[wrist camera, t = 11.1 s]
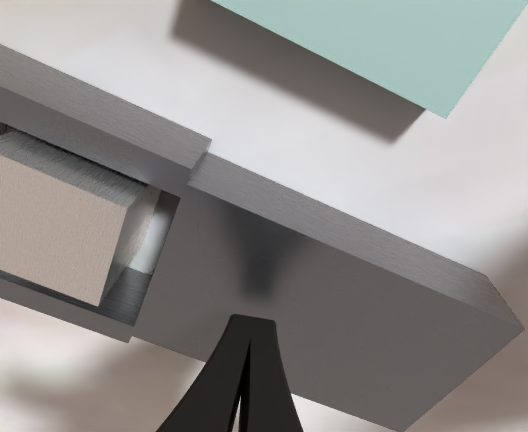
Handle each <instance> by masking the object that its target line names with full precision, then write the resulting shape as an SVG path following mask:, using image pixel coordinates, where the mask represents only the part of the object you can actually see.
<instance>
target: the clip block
mask: <svg viewBox="0 0 528 432" xmlns="http://www.w3.org/2000/svg"><path fill="white" fill-rule="evenodd" d="M160 193H161V189H159V188H156V187H154V186H152V185H149V184H147V183H144V182H142V181H140V180H137V179H135V178H133V177H130V176H128V175H126V174H123V173H121V172H118V171H116V170H114V169H111V168H109V167H107V166H104V165H102V164H99V163H97V162H95V161H92V160H90V159H88V158H85V157H83V156H80V155H78V154H76V153H73V152H71V151H69V150H66V149H64V148H61V147H59V146H57V145H54V144H52V143H50V142H47V141H45V140H42V139H40V138H38V137H35V136H33V135H31V134H28V133H26V132H24V131H21V130H19V129H16V130H13V131H11V132H8V133H6V134H3V135H1V136H0V270H2V271H5V272H8V273H10V274H13V275H16V276H18V277H21V278H24V279H26V280H29V281H31V282H34V283H37V284H39V285H42V286H45V287H47V288H50V289H53V290H55V291H58V292H61V293H63V294H66V295H68V296H71V297H74V298H76V299H79V300H82V301H84V302H87V303H90V304H92V305H95V306H99V305H100V303H101V302H102V300H103V299H104V297H105V296H106V295H107V293H108V292H109V290H110V289H111V287H112V286H113V284H114V283H115V282H116V280H117V279H118V277H119V276H120V274H121V273H122V272H123V270H124V269H125V267H126V266H127V264H128V263H129V261H130V260H131V259H132V257H133V256H134V254H135V253H136V251H137V250H138V249H139V247H140V246H141V244H142V243H143V241H144V239H145V236H146V233H147V230H148V228H149V225H150V222H151V219H152V216H153V213H154V210H155V207H156V204H157V201H158V198H159V196H160Z"/></svg>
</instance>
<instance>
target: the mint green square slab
mask: <svg viewBox="0 0 528 432" xmlns="http://www.w3.org/2000/svg"><path fill="white" fill-rule="evenodd" d="M211 1H213V2H215V3H217V4H219V5H221V6H223V7H225V8H227V9H229V10H231V11H233V12H235V13H237V14H239V15H241V16H243V17H245V18H247V19H249V20H251V21H253V22H255V23H257V24H259V25H261V26H263V27H265V28H267V29H269V30H271V31H272V32H274V33H276V34H278V35H280V36H282V37H284V38H286V39H288V40H290V41H292V42H294V43H296V44H298V45H300V46H302V47H304V48H306V49H308V50H310V51H312V52H314V53H316V54H318V55H320V56H322V57H324V58H326V59H328V60H330V61H332V62H334V63H336V64H338V65H340V66H342V67H344V68H346V69H348V70H350V71H352V72H354V73H356V74H358V75H360V76H362V77H364V78H366V79H368V80H370V81H372V82H374V83H375V84H377V85H379V86H381V87H383V88H385V89H387V90H389V91H391V92H393V93H395V94H397V95H399V96H401V97H403V98H405V99H407V100H409V101H411V102H413V103H415V104H417V105H419V106H421V107H423V108H425V109H427V110H429V111H431V112H433V113H435V114H437V115H439V116H441V117H443V118H445V119H446V118H447V117H448V115H449V114H450V113H451V111H452V110H453V108H454V107H455V106H456V104H457V103H458V101H459V100H460V99H461V97H462V96H463V94H464V93H465V91H466V90H467V89H468V87H469V86H470V84H471V83H472V82H473V80H474V79H475V77H476V76H477V74H478V73H479V72H480V70H481V69H482V67H483V66H484V65H485V63H486V62H487V60H488V59H489V58H490V56H491V55H492V53H493V52H494V50H495V49H496V48H497V46H498V45H499V43H500V42H501V41H502V39H503V38H504V36H505V35H506V34H507V32H508V31H509V29H510V28H511V26H512V25H513V24H514V22H515V21H516V19H517V18H518V17H519V15H520V14H521V12H522V11H523V10H524V8H525V7H526V5H527V4H528V0H211Z"/></svg>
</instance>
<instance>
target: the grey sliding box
mask: <svg viewBox="0 0 528 432" xmlns="http://www.w3.org/2000/svg"><path fill="white" fill-rule="evenodd" d="M6 124H7V125H9V126H12V127H14V128H16V129H19V130H21V131H24V132H26V133H28V134H31V135H33V136H35V137H38V138H40V139H42V140H45V141H47V142H50V143H52V144H54V145H57V146H59V147H61V148H64V149H66V150H69V151H71V152H73V153H76V154H78V155H80V156H83V157H85V158H88V159H90V160H92V161H95V162H97V163H99V164H102V165H104V166H107V167H109V168H111V169H114V170H116V171H118V172H121V173H123V174H126V175H128V176H130V177H133V178H135V179H137V180H140V181H142V182H144V183H147V184H149V185H152V186H154V187H156V188H159V189H161V190H163V191H166V192H168V193H171V194H173V195H175V196H178V197H180V198H181V199H180V202H179V204H178V207H177V210H176V213H175V215H174V218H173V221H172V224H171V226H170V229H169V232H168V235H167V237H166V240H165V243H164V246H163V248H162V251H161V254H160V257H159V260H158V262H157V265H156V268H155V271H154V273H153V276H149V275H147V274H144V273H142V272H139V271H136V270H134V269H131V268H129V267H125V269H124V270H123V272H122V273H121V274H120V276H119V277H118V279H117V280H116V282H115V283H114V284H113V286H112V287H111V289H110V290H109V292H108V293H107V295H106V296H105V297H104V299H103V300H102V302H101V303H100V305H99V306H95V305H92V304H90V303H87V302H84V301H82V300H79V299H76V298H74V297H71V296H68V295H66V294H63V293H61V292H58V291H55V290H53V289H50V288H47V287H45V286H42V285H39V284H37V283H34V282H31V281H29V280H26V279H24V278H21V277H18V276H16V275H13V274H10V273H8V272H5V271H2V270H0V298H2V299H5V300H8V301H11V302H13V303H16V304H19V305H22V306H25V307H27V308H30V309H33V310H36V311H39V312H41V313H44V314H47V315H50V316H53V317H55V318H58V319H61V320H64V321H67V322H69V323H72V324H75V325H78V326H81V327H83V328H86V329H89V330H92V331H95V332H97V333H100V334H103V335H106V336H109V337H111V338H114V339H117V340H120V341H123V342H125V343H129V341H130V339H131V337H132V336H134V337H137V338H140V339H142V340H145V341H148V342H151V343H153V344H156V345H159V346H162V347H164V348H167V349H170V350H173V351H176V352H178V353H181V354H184V355H187V356H189V357H192V358H195V359H198V360H201V361H203V362H207V361H208V359H209V357H210V356H211V354H212V353H213V351H214V349H215V347H216V346H217V344H218V342H219V340H220V338H221V336H222V334H223V332H224V330H225V328H226V326H227V323H228V321H229V318H230V316H231V315H233V314H240V315H246V316H252V317H258V318H264V319H270V320H274V321H275V323H276V328H277V338H278V344H279V349H280V354H281V359H282V363H283V368H284V372H285V375H286V379H287V382H288V386H289V390H290V393H292V394H295V395H298V396H300V397H303V398H306V399H309V400H311V401H314V402H317V403H320V404H323V405H325V406H328V407H331V408H334V409H336V410H339V411H342V412H345V413H347V414H350V415H353V416H356V417H359V418H361V419H364V420H367V421H370V422H372V423H375V424H378V425H381V426H384V427H386V428H389V429H392V430H395V431H397V432H403V431H405V430H406V429H407V428H408V427H409V426H411V425H412V424H413V423H414V422H415V421H416V420H418V419H419V418H420V417H421V416H422V415H424V414H425V413H426V412H427V411H428V410H430V409H431V408H432V407H433V406H434V405H435V404H437V403H438V402H439V401H440V400H441V399H443V398H444V397H445V396H446V395H447V394H449V393H450V392H451V391H452V390H453V389H454V388H456V387H457V386H458V385H459V384H460V383H462V382H463V381H464V380H465V379H466V378H467V377H469V376H470V375H471V374H472V373H473V372H475V371H476V370H477V369H478V368H479V367H481V366H482V365H483V364H484V363H485V362H486V361H488V360H489V359H490V358H491V357H492V356H494V355H495V354H496V353H497V352H498V351H500V350H501V349H502V348H503V347H504V346H505V345H507V344H508V343H509V342H510V341H511V340H513V339H514V338H515V337H516V336H517V335H518V334H520V333H521V332H522V331H523V330H524V329H525V328H524V327H523V325H522V324H521V323H520V321H519V320H518V319H517V317H516V316H515V315H514V313H513V312H512V310H511V309H510V308H509V306H508V305H507V304H506V302H505V301H504V300H503V298H502V297H501V295H500V294H499V293H498V291H497V290H496V289H495V287H494V286H493V285H492V283H491V282H490V280H489V279H488V278H487V276H485V275H483V274H481V273H479V272H476V271H474V270H472V269H470V268H467V267H465V266H463V265H461V264H458V263H456V262H454V261H452V260H449V259H447V258H445V257H443V256H440V255H438V254H436V253H434V252H431V251H429V250H427V249H425V248H422V247H420V246H418V245H416V244H413V243H411V242H409V241H407V240H404V239H402V238H400V237H398V236H395V235H393V234H391V233H388V232H386V231H384V230H382V229H379V228H377V227H375V226H373V225H370V224H368V223H366V222H364V221H361V220H359V219H357V218H355V217H352V216H350V215H348V214H346V213H343V212H341V211H339V210H337V209H334V208H332V207H330V206H328V205H325V204H323V203H321V202H319V201H316V200H314V199H312V198H310V197H307V196H305V195H303V194H301V193H298V192H296V191H294V190H292V189H289V188H287V187H285V186H283V185H280V184H278V183H276V182H274V181H271V180H269V179H267V178H265V177H262V176H260V175H258V174H256V173H253V172H251V171H249V170H247V169H244V168H242V167H240V166H238V165H235V164H233V163H231V162H229V161H226V160H224V159H222V158H220V157H217V156H215V155H213V154H211V153H208V149H209V146H210V144H211V141H212V139H209V138H207V137H205V136H203V135H201V134H198V133H196V132H194V131H192V130H189V129H187V128H185V127H183V126H181V125H178V124H176V123H174V122H172V121H169V120H167V119H165V118H163V117H161V116H158V115H156V114H154V113H152V112H149V111H147V110H145V109H143V108H141V107H138V106H136V105H134V104H132V103H129V102H127V101H125V100H123V99H121V98H118V97H116V96H114V95H112V94H109V93H107V92H105V91H103V90H101V89H98V88H96V87H94V86H92V85H89V84H87V83H85V82H83V81H81V80H78V79H76V78H74V77H72V76H69V75H67V74H65V73H63V72H61V71H58V70H56V69H54V68H52V67H49V66H47V65H45V64H43V63H41V62H38V61H36V60H34V59H32V58H29V57H27V56H25V55H23V54H21V53H18V52H16V51H14V50H12V49H9V48H7V47H5V46H3V45H1V44H0V136H1V135H3V134H6Z"/></svg>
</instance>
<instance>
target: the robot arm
mask: <svg viewBox="0 0 528 432" xmlns="http://www.w3.org/2000/svg"><path fill="white" fill-rule="evenodd" d="M240 396H241V401H240ZM239 401H240V416H239V430H238V432H303V429H302V426H301V423H300V421H299V418H298V415H297V412H296V409H295V406H294V403H293V400H292V396H291V393H290V390H289V386H288V382H287V379H286V375H285V372H284V368H283V363H282V359H281V354H280V349H279V344H278V338H277V328H276V323H275V321H274V320H270V319H264V318H258V317H252V316H246V315H240V314H233V315H231V316H230V318H229V321H228V323H227V326H226V328H225V330H224V332H223V334H222V336H221V338H220V340H219V342H218V344H217V346H216V347H215V349H214V351H213V353H212V354H211V356H210V357H209V359H208V361H207V362H206V364H205V366H204V367H203V369H202V370H201V372H200V373H199V375H198V376H197V378H196V379H195V381H194V382H193V384H192V385H191V386H190V388H189V389H188V391H187V392H186V394H185V395H184V396H183V398H182V399H181V401H180V402H179V403H178V405H177V406H176V407H175V408H174V410H173V411H172V412H171V414H170V415H169V416H168V417H167V419H166V420H165V421H164V422H163V424H162V425H161V426H160V427H159V429H158V430H157V431H156V432H232V429H233V425H234V421H235V417H236V413H237V409H238V405H239Z"/></svg>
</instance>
